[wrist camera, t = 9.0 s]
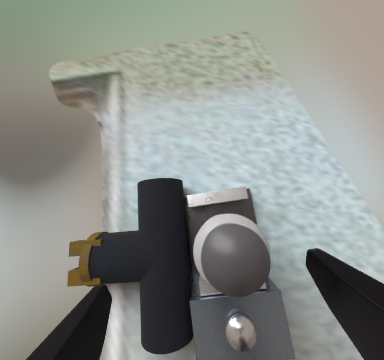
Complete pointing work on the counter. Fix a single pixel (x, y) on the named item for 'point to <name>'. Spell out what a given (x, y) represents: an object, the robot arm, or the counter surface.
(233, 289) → the grey domed cylinder
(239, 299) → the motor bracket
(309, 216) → the counter surface
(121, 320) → the counter surface
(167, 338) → the pipe connector
